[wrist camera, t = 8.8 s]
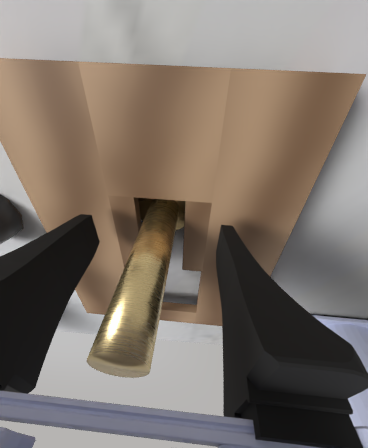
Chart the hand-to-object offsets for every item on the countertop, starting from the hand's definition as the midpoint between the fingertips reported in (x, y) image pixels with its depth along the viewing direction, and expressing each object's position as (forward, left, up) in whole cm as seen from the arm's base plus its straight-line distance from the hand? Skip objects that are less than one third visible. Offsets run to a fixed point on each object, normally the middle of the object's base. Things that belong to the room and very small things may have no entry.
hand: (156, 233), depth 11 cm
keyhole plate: (0, +2, -4) cm, 4 cm away
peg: (0, 0, -4) cm, 4 cm away
